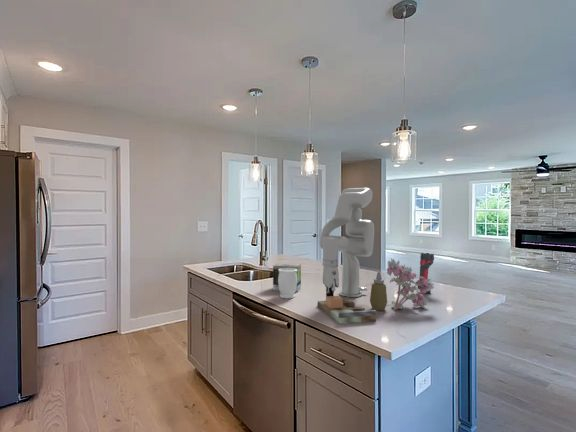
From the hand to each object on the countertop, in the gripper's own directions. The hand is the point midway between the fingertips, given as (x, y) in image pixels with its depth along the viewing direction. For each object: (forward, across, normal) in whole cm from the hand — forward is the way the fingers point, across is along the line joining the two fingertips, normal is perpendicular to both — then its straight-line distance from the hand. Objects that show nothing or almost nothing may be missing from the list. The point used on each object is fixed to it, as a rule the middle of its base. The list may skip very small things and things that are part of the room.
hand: (329, 300), depth 156 cm
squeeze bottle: (+4, -6, -23) cm, 24 cm away
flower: (+4, -7, -40) cm, 40 cm away
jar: (+4, +25, +15) cm, 29 cm away
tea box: (+4, +41, +11) cm, 42 cm away
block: (+1, -5, 0) cm, 5 cm away
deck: (+4, -8, -4) cm, 10 cm away
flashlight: (+4, +18, -67) cm, 70 cm away
